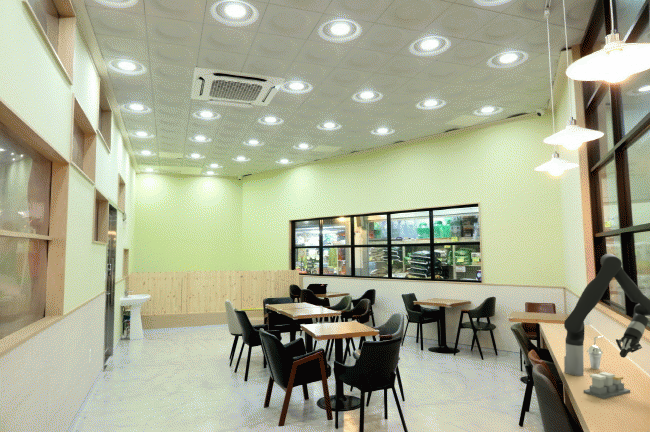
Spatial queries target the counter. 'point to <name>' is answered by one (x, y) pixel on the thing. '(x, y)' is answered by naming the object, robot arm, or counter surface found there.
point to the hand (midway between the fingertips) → (622, 356)
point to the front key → (597, 380)
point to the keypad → (607, 391)
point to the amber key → (617, 379)
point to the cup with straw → (595, 355)
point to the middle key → (608, 378)
